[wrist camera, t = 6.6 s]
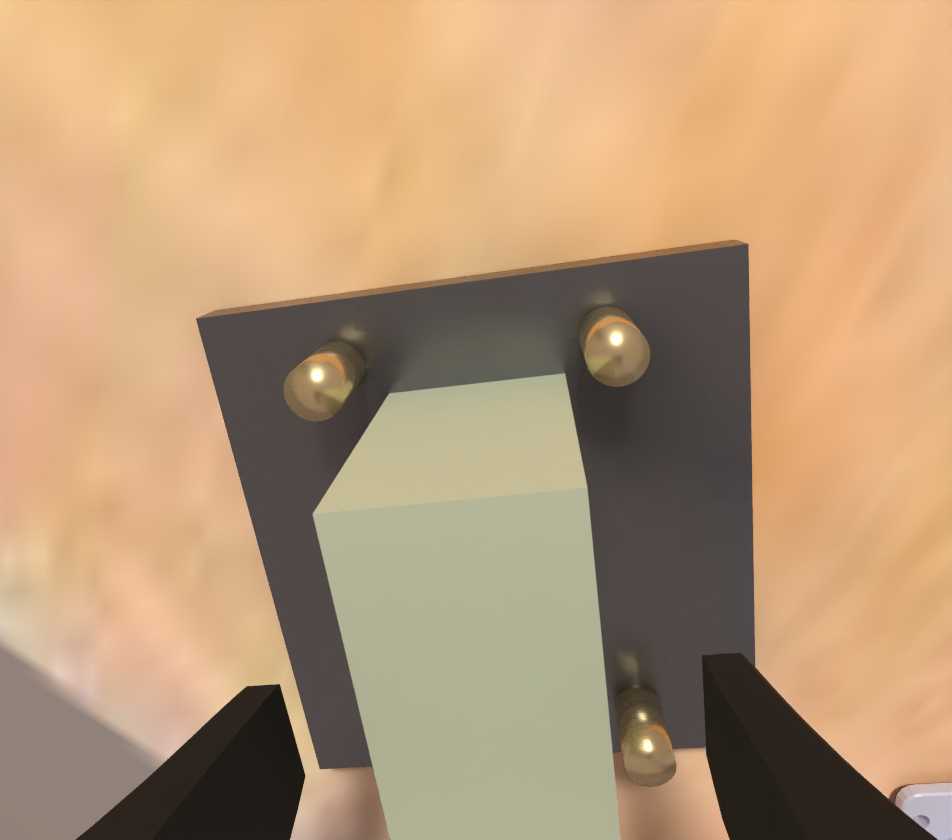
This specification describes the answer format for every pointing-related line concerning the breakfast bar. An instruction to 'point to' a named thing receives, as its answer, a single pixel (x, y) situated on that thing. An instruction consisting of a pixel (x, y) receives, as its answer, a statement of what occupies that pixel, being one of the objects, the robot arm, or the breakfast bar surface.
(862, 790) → the robot arm
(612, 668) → the plate
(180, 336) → the breakfast bar surface
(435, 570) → the block
